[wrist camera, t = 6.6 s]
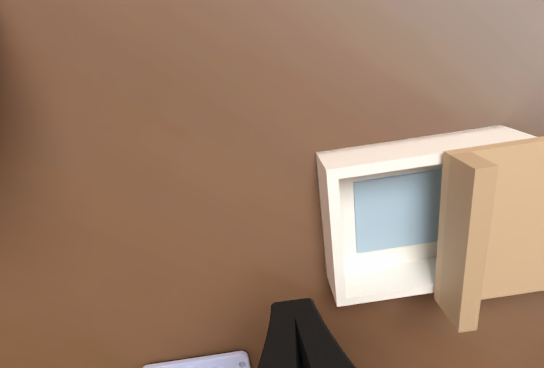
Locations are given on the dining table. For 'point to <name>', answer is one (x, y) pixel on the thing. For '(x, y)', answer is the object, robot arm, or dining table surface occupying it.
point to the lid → (489, 227)
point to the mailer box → (388, 212)
